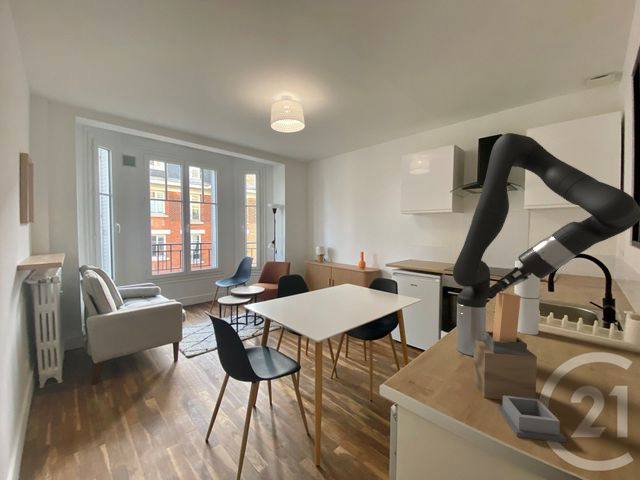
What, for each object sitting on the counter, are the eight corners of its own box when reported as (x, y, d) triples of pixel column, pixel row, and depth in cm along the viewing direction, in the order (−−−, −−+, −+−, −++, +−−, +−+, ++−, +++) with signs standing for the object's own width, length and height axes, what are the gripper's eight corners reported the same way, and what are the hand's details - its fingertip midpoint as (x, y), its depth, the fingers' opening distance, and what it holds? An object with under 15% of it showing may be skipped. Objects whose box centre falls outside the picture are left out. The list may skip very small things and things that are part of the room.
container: (527, 327, 122) (529, 260, 121) (543, 334, 114) (545, 263, 113) (508, 327, 122) (510, 260, 121) (523, 335, 114) (525, 263, 112)
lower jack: (497, 409, 67) (498, 393, 67) (539, 413, 66) (539, 397, 65) (516, 436, 58) (517, 418, 58) (565, 442, 57) (565, 423, 57)
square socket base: (473, 380, 80) (474, 330, 79) (519, 385, 77) (520, 333, 77) (484, 397, 72) (485, 341, 71) (535, 402, 70) (537, 345, 69)
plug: (492, 343, 77) (496, 291, 75) (507, 344, 76) (513, 292, 74) (498, 350, 73) (503, 295, 71) (515, 351, 72) (520, 296, 71)
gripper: (537, 246, 77) (488, 280, 85) (529, 245, 67) (474, 284, 75) (560, 267, 74) (507, 300, 82) (556, 269, 63) (495, 307, 72)
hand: (491, 292), depth 78 cm, fingers open, 8 cm apart
